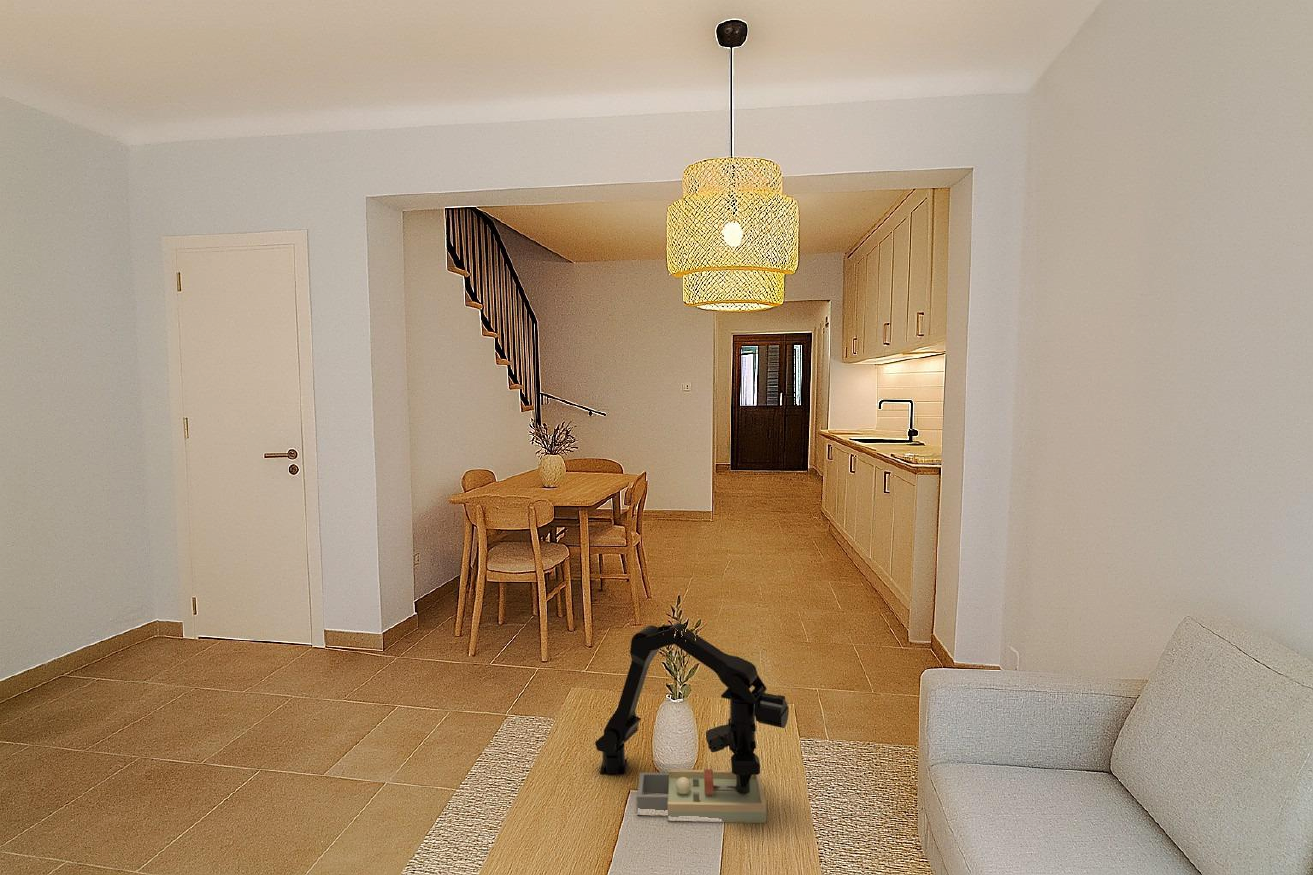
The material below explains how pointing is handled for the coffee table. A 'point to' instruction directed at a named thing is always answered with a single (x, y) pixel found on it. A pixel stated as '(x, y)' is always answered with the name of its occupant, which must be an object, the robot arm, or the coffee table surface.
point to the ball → (683, 785)
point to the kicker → (710, 787)
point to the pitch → (717, 798)
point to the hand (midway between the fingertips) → (742, 782)
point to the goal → (653, 791)
